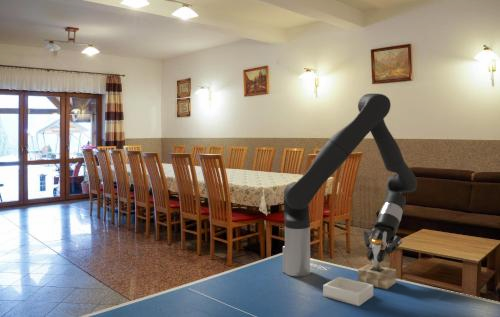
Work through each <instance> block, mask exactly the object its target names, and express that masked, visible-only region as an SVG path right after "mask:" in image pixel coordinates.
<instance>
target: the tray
mask: <svg viewBox="0 0 500 317" xmlns="http://www.w3.org/2000/svg"><path fill="white" fill-rule="evenodd" d="M322 288H323V289H322V296H323V297H325V298H328V299H332V300H336V301H339V302H343V303H347V304H350V305H353V306H357V307H360V306H362V304H364V303H365V302H366V301H368V300H369V299H371V298H372V297H374V286H373V285H372V284H367V283H363V282H359V281H358V280H353V279H349V278H346V277H342V276H338V277H336V278H334V279H332V280H330V281H328V282H327V283H325V284H323V285H322Z"/></svg>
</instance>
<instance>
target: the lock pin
mask: <svg viewBox="0 0 500 317" xmlns="http://www.w3.org/2000/svg"><path fill="white" fill-rule="evenodd" d="M371 242H372V243H373V245H372V260H371V265H372V271H377V272H381V267H382V262H381V263H379V262H378V261H377V258H378V255H379V252H380V250H381V248H382V240H381V239H373V238H371Z"/></svg>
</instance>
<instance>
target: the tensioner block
mask: <svg viewBox="0 0 500 317" xmlns="http://www.w3.org/2000/svg"><path fill="white" fill-rule="evenodd" d="M357 281H359V282H363V283H367V284H372V285H373V287H375V288H379V289H383V290H388V289H389V288H391V287H392V286H393V285H395V284H396V283H397V269H395V268H391V267H386V266H381V272H377V271H372V263H371V264H370V263H367V264H366V265H364V266H361V267H360V268H359V269H357Z"/></svg>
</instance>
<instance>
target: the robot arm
mask: <svg viewBox="0 0 500 317" xmlns="http://www.w3.org/2000/svg"><path fill="white" fill-rule="evenodd" d="M357 108H358V114H357V115H356V116H355V118H353V120H352V121H350V122H349V123H348V124H347V125H345V126H344V127H342V128H341V129H339V130H338V131H337V132H335V133H334V134H333V135H332V136H331V137H330V138H329V139H328V140H327V141H326V143H325V144H324V145H323V146H322V147H321V149H320V150H319V151H318V153H317V154H316V156H315V158H314V159H313V161H312V163H311V165H310V167H309V168H308V169H307V171H306V172H305V173H304V174H303V175H302V176H301V177H300V178H299V179H298V180H297V181H293V182H290V183H289V184H288V185H286V187H284V188H285V189H284V192H283V218H284V245H283V246H282V273H284V274H286V275H287V276H291V277H306V276H308V275H310V274H311V217H310V209H309V208H310V206H309V204H310V203H311V202H312V200H314V197H315V196H316V194H318V192H319V190H320V189H321V187H322V186H323V185H324V184H325V183H326V182H327V180H328V179H329V178H330V177H332V175H334V174H335V172H336V171H337V170H339V168H340V167H341V166H342V165H343V164H344V162H346V160H347V159H348V158H349V157H350V155H351V154H352V153H353V152H354V151H355V149H356V148H357V147H358V146H359V145H360V144H361V143H362V141H363V140H364V139H365V137H366V136H367V135H369V133H371V135H372V137H373V139H374V142H375V144H376V146H377V149H378V151H379V154H380V156H381V159H382V161H383V162H382V163H383V164H384V167H385V170H387V172H391V173H395V174H392V175H390V176H389V177H388V179H386V180H387V181H386V192H385V193H386V197H385V199H384V201H383V204H382V207H381V209H380V210H379V213H378V216H377V218H376V221H375V223H374V227H373V228H372V229H371V231H369V232H367V230H366V231H363V239H364V245H365V247H366V248H367V253H366V258H367V259H368V261H370V262H372V245H373V243H372V241H370V240H371V239H381V240H382V244H381V250H380V252H379V255H378V258H377V261H378V262H379V263H381V264H382V262H384V259H385V256H386V254H387V253H389V254H392V253H394V251H395V250H396V249H398V247H399V246H401V244H402V243H403V240H402V238H401V237H400V236H398V235H397V232H398V230H399V227H400V222H401V221H402V216H403V212H404V208H405V207H406V202H407V198H406V196H405V195H404V193H405V194H406V193H412V192H414V191H416V189H417V186H418V181H417V178H416V175H415V174H414V173H413V171H412V170H411V168H410V167H409V166H408V165H407V163H406V162H405V160H404V156H403V154H402V151H401V149H400V146H399V144H398V143H397V141H396V139H395V138H394V136H393V135H392V133H391V131H390V130H389V128H388V126H387V124H386V123H385V118H386V117H387V116H388V114H389V112H390V110H391V99H390V98H389V97H388V96H387V95H385V94H382V93H366V94H363V95H362V96H361V97H360V98H359V100H358V102H357ZM371 237H372V238H371Z"/></svg>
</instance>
